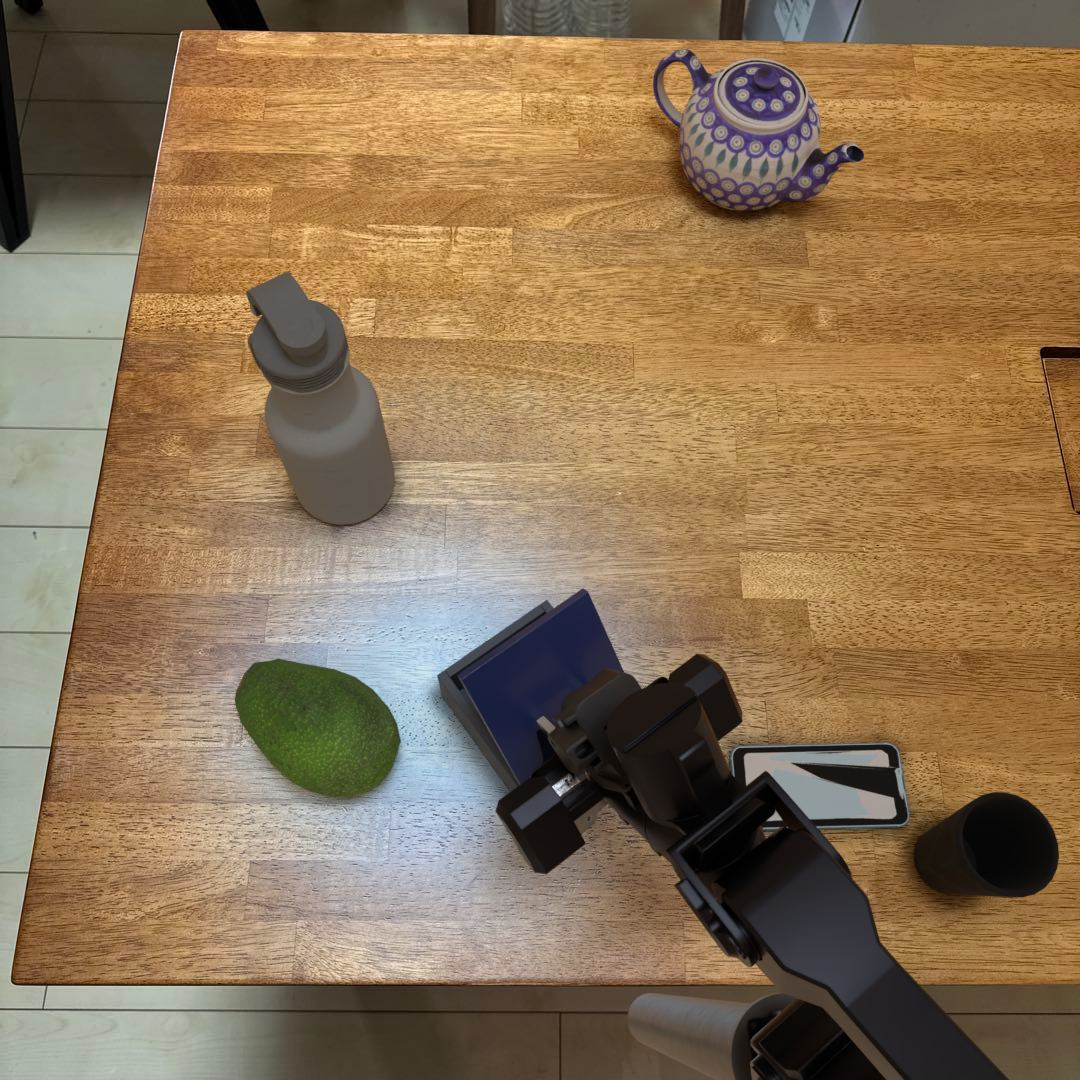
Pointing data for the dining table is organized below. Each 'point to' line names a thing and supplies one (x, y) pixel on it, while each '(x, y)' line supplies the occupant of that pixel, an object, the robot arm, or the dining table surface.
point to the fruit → (318, 726)
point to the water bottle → (319, 406)
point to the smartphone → (832, 782)
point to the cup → (989, 849)
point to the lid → (538, 678)
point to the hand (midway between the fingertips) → (568, 713)
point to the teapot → (750, 134)
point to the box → (465, 707)
